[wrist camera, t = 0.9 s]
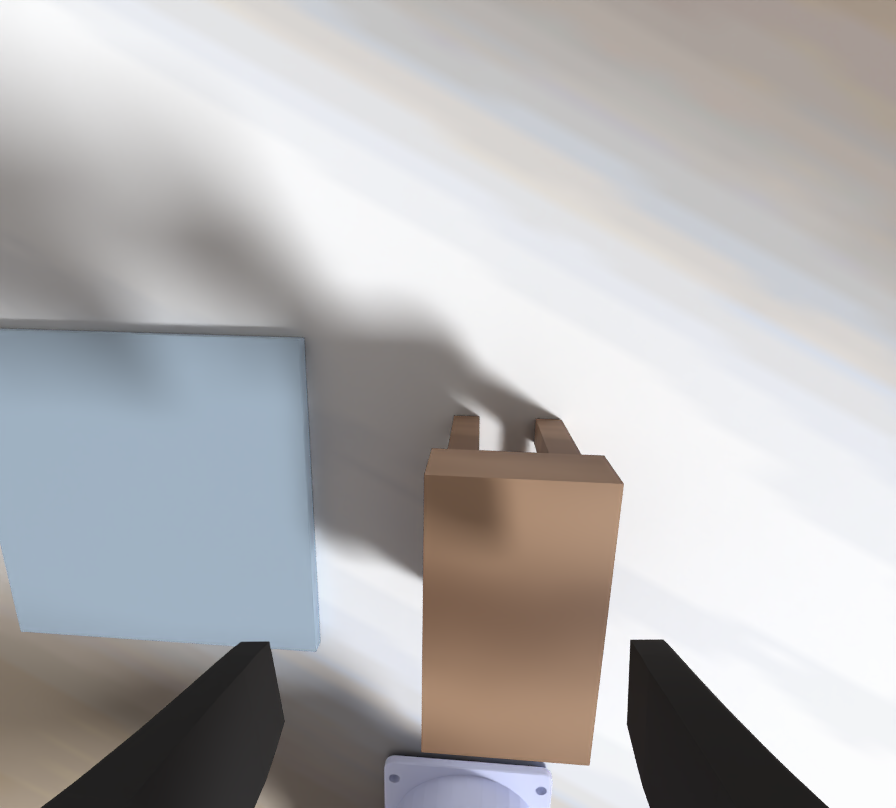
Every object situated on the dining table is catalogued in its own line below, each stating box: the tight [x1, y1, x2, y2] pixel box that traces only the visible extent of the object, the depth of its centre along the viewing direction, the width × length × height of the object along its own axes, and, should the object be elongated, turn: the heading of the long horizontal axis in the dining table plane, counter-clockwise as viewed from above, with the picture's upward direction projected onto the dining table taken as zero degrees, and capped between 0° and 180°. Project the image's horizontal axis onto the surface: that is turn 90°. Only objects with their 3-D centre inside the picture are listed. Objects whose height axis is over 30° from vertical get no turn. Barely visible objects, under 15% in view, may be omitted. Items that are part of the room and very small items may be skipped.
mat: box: [0, 328, 320, 652], centre depth 21 cm, size 14×14×1 cm
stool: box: [421, 415, 624, 766], centre depth 17 cm, size 9×5×7 cm, turn 179°
